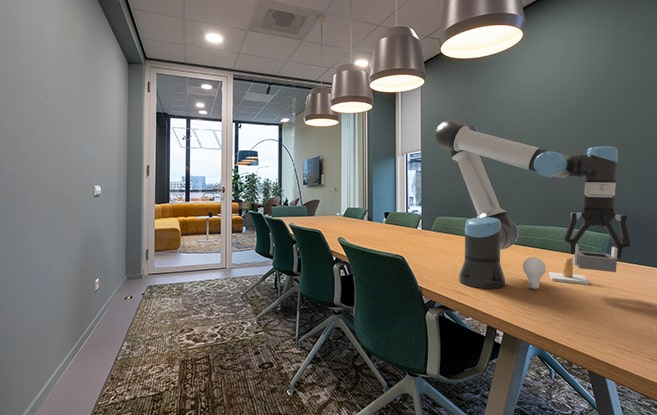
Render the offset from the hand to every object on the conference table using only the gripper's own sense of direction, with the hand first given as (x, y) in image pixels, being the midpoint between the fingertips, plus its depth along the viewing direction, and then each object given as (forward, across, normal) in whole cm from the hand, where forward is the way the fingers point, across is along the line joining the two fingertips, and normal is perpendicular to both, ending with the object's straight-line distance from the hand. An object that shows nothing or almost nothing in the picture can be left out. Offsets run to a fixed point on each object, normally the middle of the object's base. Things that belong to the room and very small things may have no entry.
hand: (593, 266), depth 104 cm
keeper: (+9, -4, +17) cm, 20 cm away
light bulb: (+10, -16, -3) cm, 19 cm away
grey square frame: (0, 0, 0) cm, 0 cm away
